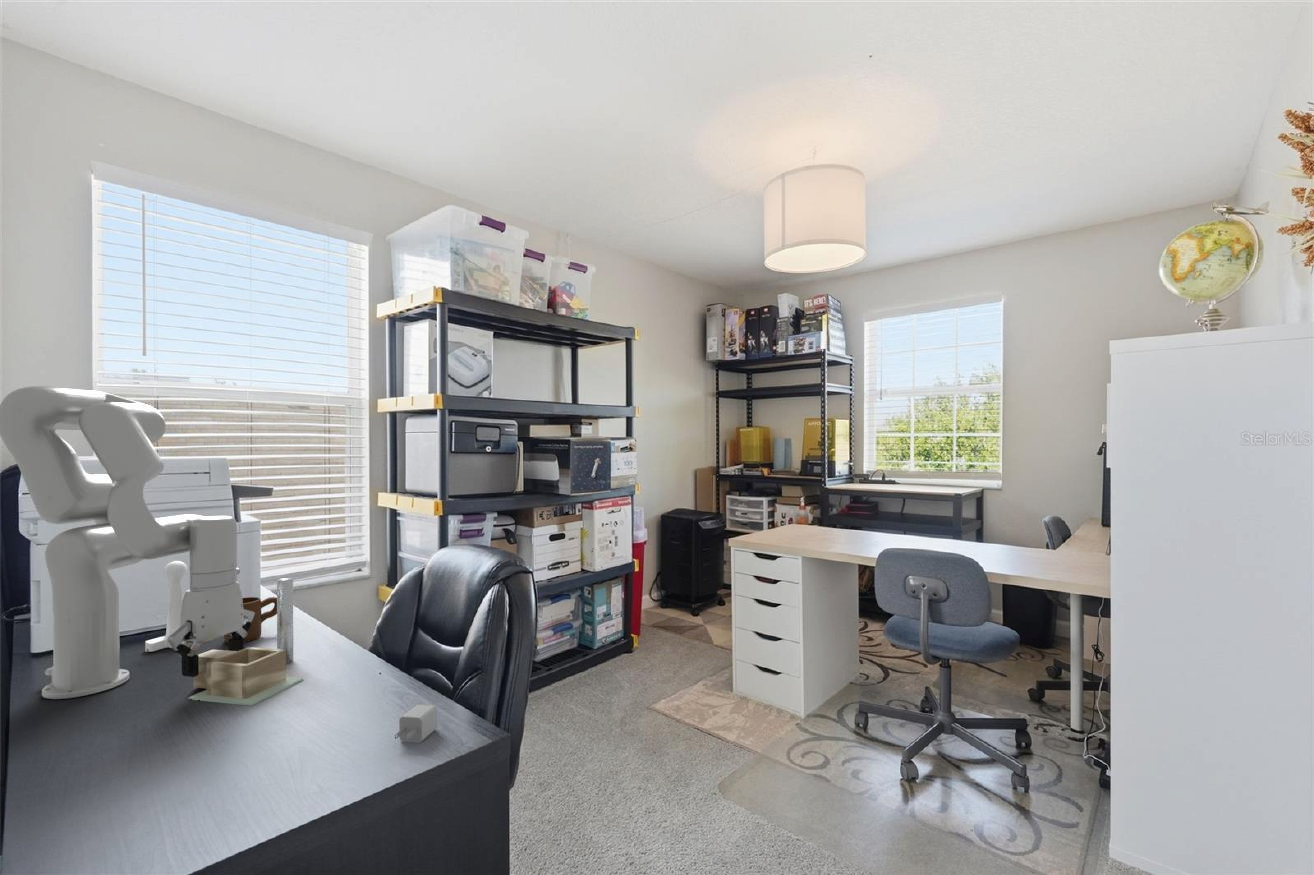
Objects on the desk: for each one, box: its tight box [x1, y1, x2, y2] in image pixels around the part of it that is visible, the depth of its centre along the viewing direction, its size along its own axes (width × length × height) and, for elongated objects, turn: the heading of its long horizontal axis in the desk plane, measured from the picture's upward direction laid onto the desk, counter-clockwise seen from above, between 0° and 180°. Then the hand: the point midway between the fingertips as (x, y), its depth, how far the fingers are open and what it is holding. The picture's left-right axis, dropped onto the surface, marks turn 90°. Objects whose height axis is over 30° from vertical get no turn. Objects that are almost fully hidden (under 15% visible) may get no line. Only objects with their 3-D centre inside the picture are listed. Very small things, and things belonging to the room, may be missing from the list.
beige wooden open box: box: [193, 646, 287, 699], centre depth 117 cm, size 15×9×6 cm, turn 78°
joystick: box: [144, 560, 193, 653], centre depth 143 cm, size 11×8×20 cm
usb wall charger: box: [394, 704, 438, 744], centre depth 96 cm, size 4×7×4 cm, turn 170°
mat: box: [188, 676, 304, 707], centre depth 117 cm, size 14×12×1 cm
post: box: [276, 577, 295, 665], centre depth 132 cm, size 3×3×18 cm
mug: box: [223, 596, 277, 644], centre depth 149 cm, size 12×8×9 cm, turn 134°
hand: (214, 666), depth 118 cm, fingers open, 9 cm apart
